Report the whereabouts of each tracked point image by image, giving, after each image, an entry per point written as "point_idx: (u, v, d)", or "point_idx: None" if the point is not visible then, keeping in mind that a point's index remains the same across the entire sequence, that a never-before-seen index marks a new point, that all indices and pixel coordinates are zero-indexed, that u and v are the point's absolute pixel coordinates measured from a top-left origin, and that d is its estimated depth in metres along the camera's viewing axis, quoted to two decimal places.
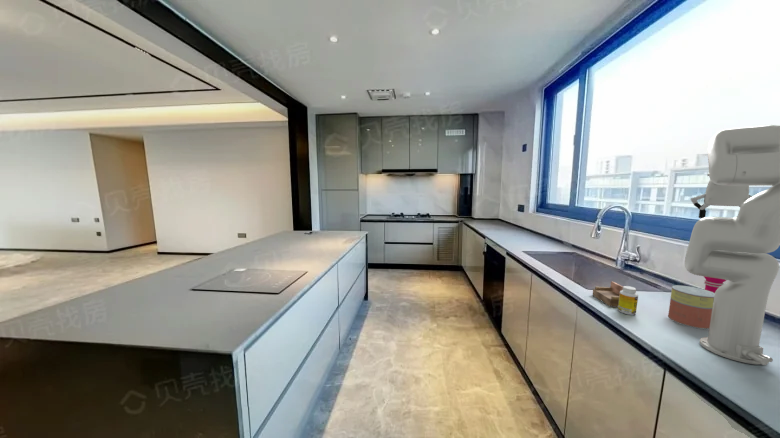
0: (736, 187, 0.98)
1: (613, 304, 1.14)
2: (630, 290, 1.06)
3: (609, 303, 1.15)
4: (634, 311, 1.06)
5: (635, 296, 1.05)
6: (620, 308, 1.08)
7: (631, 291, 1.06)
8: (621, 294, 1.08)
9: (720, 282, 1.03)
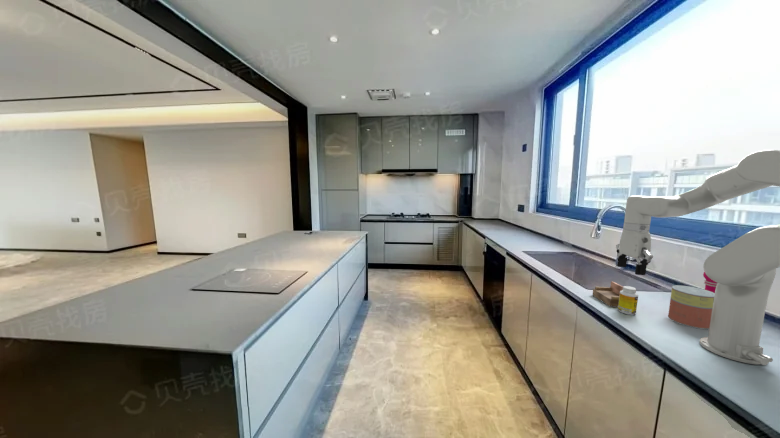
0: None
1: (613, 304, 1.14)
2: (630, 290, 1.06)
3: (609, 303, 1.15)
4: (634, 311, 1.06)
5: (635, 296, 1.05)
6: (620, 308, 1.08)
7: (631, 291, 1.06)
8: (621, 294, 1.08)
9: None
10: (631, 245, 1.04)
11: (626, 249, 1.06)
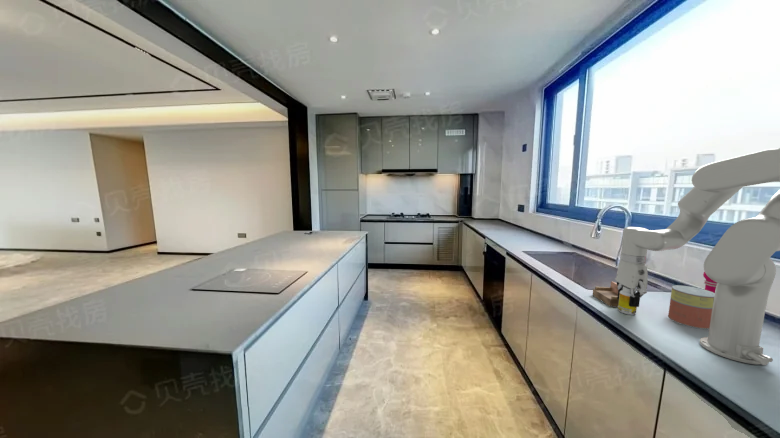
0: None
1: (613, 304, 1.14)
2: (630, 290, 1.06)
3: (609, 303, 1.15)
4: (634, 311, 1.06)
5: None
6: (620, 308, 1.08)
7: None
8: (621, 294, 1.08)
9: None
10: (628, 276, 1.05)
11: (624, 280, 1.08)
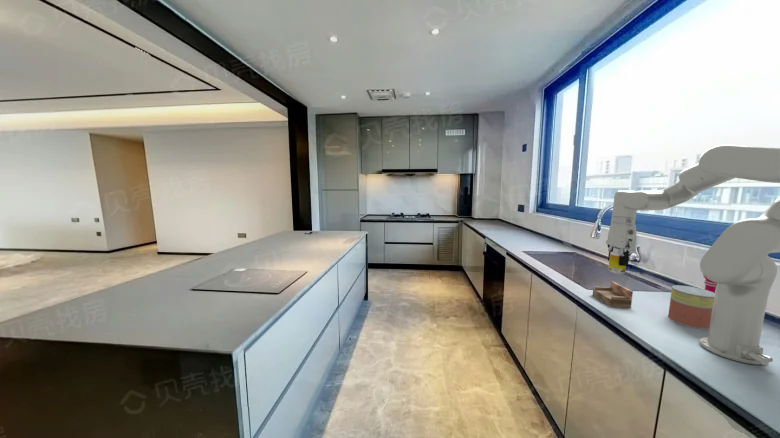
0: None
1: (613, 304, 1.14)
2: None
3: (609, 303, 1.15)
4: (623, 270, 1.12)
5: None
6: (610, 268, 1.15)
7: None
8: (611, 254, 1.14)
9: None
10: (618, 237, 1.11)
11: (614, 241, 1.14)
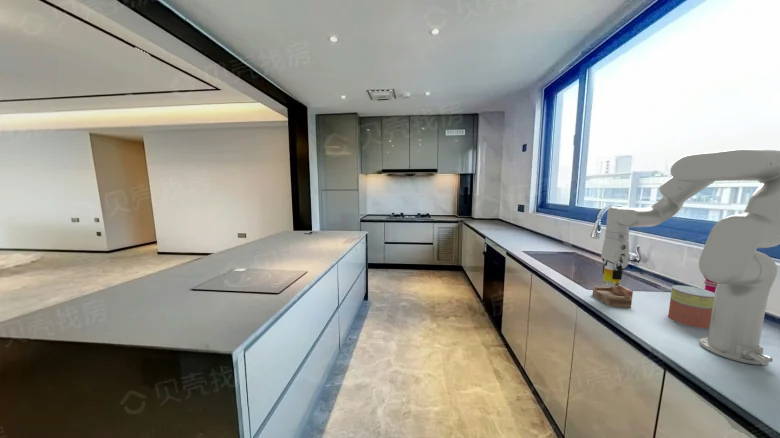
0: None
1: (613, 304, 1.14)
2: (613, 264, 1.16)
3: (609, 303, 1.15)
4: (617, 283, 1.16)
5: None
6: (605, 281, 1.19)
7: None
8: (605, 268, 1.18)
9: None
10: (612, 251, 1.15)
11: (608, 255, 1.18)
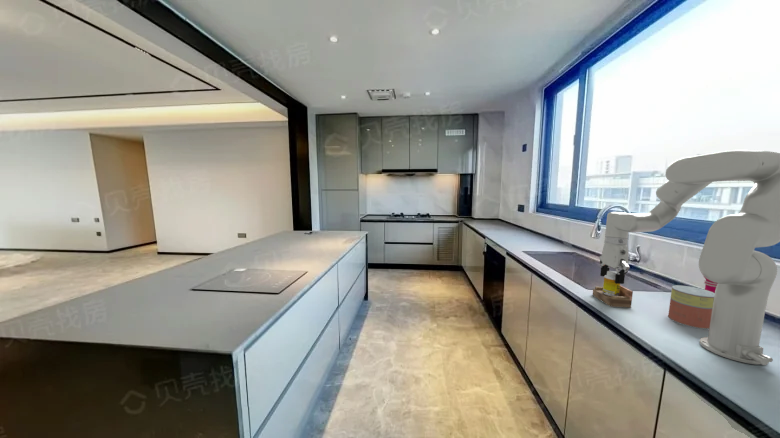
0: None
1: (613, 304, 1.14)
2: (613, 274, 1.16)
3: (609, 303, 1.15)
4: (617, 293, 1.16)
5: None
6: (604, 291, 1.19)
7: (614, 275, 1.16)
8: (605, 278, 1.18)
9: None
10: (611, 256, 1.15)
11: (607, 260, 1.18)
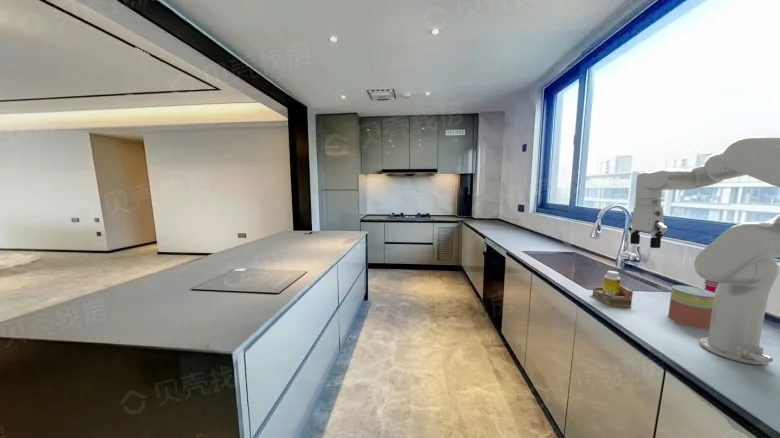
0: None
1: (613, 304, 1.14)
2: (613, 274, 1.16)
3: (609, 303, 1.15)
4: (617, 293, 1.16)
5: (618, 279, 1.16)
6: (604, 291, 1.19)
7: (614, 275, 1.16)
8: (605, 278, 1.18)
9: None
10: (644, 219, 1.07)
11: (639, 225, 1.09)
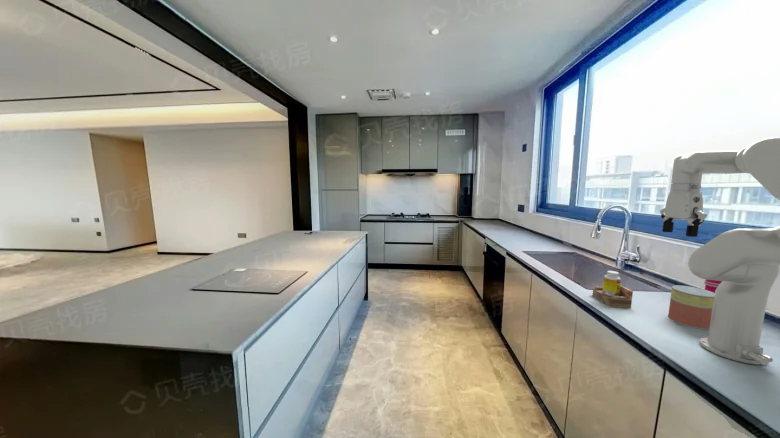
0: None
1: (613, 304, 1.14)
2: (613, 274, 1.16)
3: (609, 303, 1.15)
4: (617, 293, 1.16)
5: (618, 279, 1.16)
6: (604, 291, 1.19)
7: (614, 275, 1.16)
8: (605, 278, 1.18)
9: (720, 282, 1.03)
10: (681, 206, 0.99)
11: (675, 212, 1.02)
